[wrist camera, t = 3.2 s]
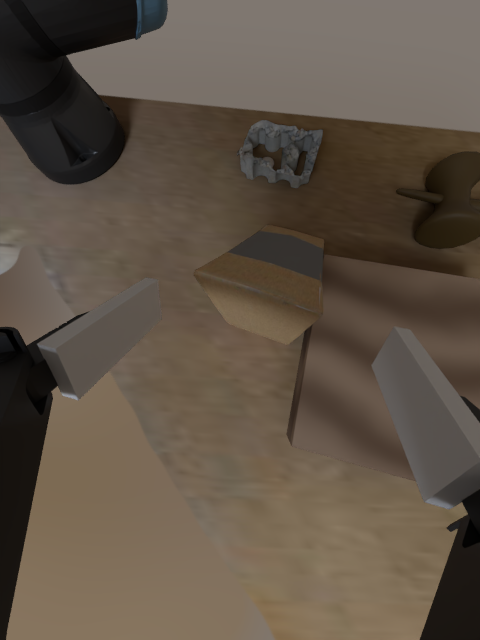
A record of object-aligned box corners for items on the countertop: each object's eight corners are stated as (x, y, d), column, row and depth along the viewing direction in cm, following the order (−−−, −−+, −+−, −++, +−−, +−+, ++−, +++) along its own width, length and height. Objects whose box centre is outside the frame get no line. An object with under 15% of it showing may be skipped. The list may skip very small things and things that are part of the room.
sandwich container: (327, 239, 30) (390, 114, 15) (291, 346, 27) (326, 316, 13) (266, 223, 31) (271, 93, 17) (226, 323, 29) (190, 271, 14)
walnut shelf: (315, 270, 29) (324, 254, 25) (451, 294, 27) (485, 280, 23) (286, 434, 25) (291, 446, 21) (444, 477, 23) (484, 500, 19)
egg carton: (235, 178, 34) (232, 152, 30) (253, 140, 35) (252, 110, 31) (304, 195, 32) (311, 169, 28) (320, 154, 33) (328, 124, 29)
